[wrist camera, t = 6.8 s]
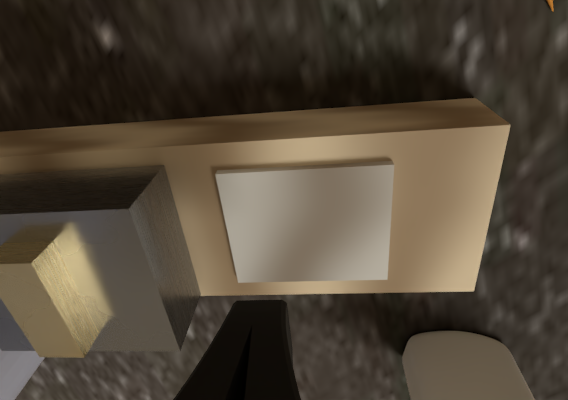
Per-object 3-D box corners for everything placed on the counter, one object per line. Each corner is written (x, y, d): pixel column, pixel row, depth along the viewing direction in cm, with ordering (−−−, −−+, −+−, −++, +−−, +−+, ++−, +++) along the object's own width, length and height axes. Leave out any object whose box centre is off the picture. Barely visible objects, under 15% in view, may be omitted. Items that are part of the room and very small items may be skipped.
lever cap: (47, 296, 16) (-19, 375, 13) (-22, 175, 13) (-130, 238, 10) (200, 294, 16) (170, 377, 12) (164, 164, 13) (112, 230, 9)
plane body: (59, 257, 20) (16, 303, 17) (-6, 132, 16) (-73, 164, 13) (450, 245, 18) (476, 296, 15) (475, 97, 14) (515, 128, 11)
